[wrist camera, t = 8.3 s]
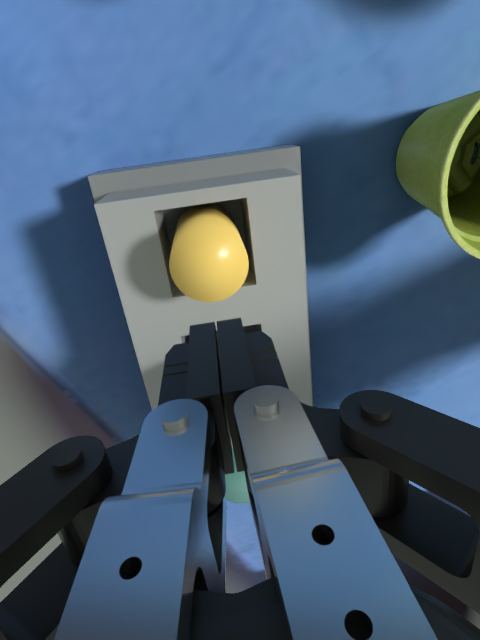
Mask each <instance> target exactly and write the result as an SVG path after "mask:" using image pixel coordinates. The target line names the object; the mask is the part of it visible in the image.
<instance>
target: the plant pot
mask: <svg viewBox="0 0 480 640" xmlns="http://www.w3.org/2000/svg"><path fill="white" fill-rule="evenodd" d="M475 142H477V143H478V144H479V146H478V153H477V157H476V160H475V161H474V163H473V164H470V161H471V158H472V155H473V154H474V149H475V148H474V147H475ZM396 173H397V177H398V180H399V182H400V184H401V185H402V187H403V189H404V190H405V191H406V193H407V194H408V195H409V196H410V197H412V198H413V199H415V200H416V201H417V202H419V203H420V204H422V205H423V206H425V207H426V208H427V209H429V210H430V211H431V212H433V213H434V214H436V215H437V216H438V217H440V218H441V219H442V221H443V223H444V226H445V228H446V230H447V232H448V234H449V235H450V237H451V238H452V239H453V241H454V242H455V243H456V244H457V245H458V246H459V247H460V248H462V249H463V250H464V251H465V252H467V253H468V254H470V255H472V256H474V257H476V258H478V259H480V91H477V92H474V93H471V94H468V95H465V96H462V97H459V98H456V99H453V100H450V101H447V102H444V103H441V104H438V105H435V106H433V107H431V108H429V109H428V110H426V111H425V112H424V113H423V114H421V115H420V116H419V117H418V118H417V119H416V120H415V121H414V122H413V123H412V124H411V126H410V127H409V128H408V129H407V130H406V132H405V133H404V135H403V137H402V139H401V142H400V144H399V147H398V151H397V155H396Z"/></svg>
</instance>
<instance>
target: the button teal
mask: <svg viewBox="0 0 480 640" xmlns="http://www.w3.org/2000/svg"><path fill="white" fill-rule="evenodd" d="M232 453H233V463H234V473H231V474H225V481H226V492H225V498H226V500H228V501H230V502H234V503H250V501H249V496H248V490H247V484H246V478H245V472H244V471H242V472H237V468H236V462H235V457H234V451H233V448H232Z"/></svg>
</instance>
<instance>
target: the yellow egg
mask: <svg viewBox="0 0 480 640" xmlns="http://www.w3.org/2000/svg"><path fill="white" fill-rule="evenodd" d="M169 268H170V273H171V277H172V279H173V281H174V283H175V284H176V286H177V287H178V288H179V290H180V291H181V292H183V293H184V294H185V295H187V296H188V297H190V298H192V299H194V300H197V301H201V302H217V301H221V300H224V299H226V298H228V297H230V296H232V295H233V294H234V293H236V292H237V291H238V290H239V289H240V287H241V286H242V285H243V283H244V281H245V279H246V277H247V274H248V268H249V260H248V255H247V252H246V249H245V247H244V244H243V242H242V239H241V237H240V234H239V232H238V229H237V227H236V224H235V222H234V220H233V218H232V216H231V215H230V214H229V213H228V212H227V211H226V210H225V209H224V208H222V207H221V206H219V205H216V204H212V203H206V204H199V205H193V206H191V207H189V208H188V209H187V210H186V211H184V212H183V214H182V215H181V216H180V218H179V220H178V222H177V226H176V230H175V235H174V240H173V245H172V250H171V254H170V261H169Z"/></svg>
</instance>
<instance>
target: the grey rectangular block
mask: <svg viewBox="0 0 480 640" xmlns="http://www.w3.org/2000/svg"><path fill="white" fill-rule="evenodd" d="M88 180H89V184H90V187H91V191H92V194H93V198H94V201H95V204H94V207H95V210H96V214H97V217H98V221H99V224H100V228H101V231H102V235H103V238H104V242H105V246H106V249H107V253H108V256H109V260H110V263H111V267H112V270H113V274H114V278H115V281H116V285H117V288H118V292H119V295H120V299H121V302H122V306H123V309H124V313H125V317H126V320H127V324H128V327H129V331H130V334H131V338H132V341H133V345H134V349H135V352H136V356H137V359H138V363H139V366H140V370H141V373H142V377H143V380H144V384H145V388H146V391H147V395H148V398H149V402H150V405H151V409H152V410H153V409H155V408H156V407H158V402H159V395H160V388H161V382H162V377H163V368H164V362H165V355H166V354H167V353H168V351H169V350H170V349H171V348H172V347H173V345H175V344H181V343H188V342H189V330H190V325H196V324H202V323H209V322H215V326H216V331H217V321H221V320H227V319H234V318H240V317H241V320H242V325H243V329H244V333H251V332H257V331H262V332H264V333H265V334H266V335H268V336H269V337H270V338H272V341H273V344H274V347H275V350H276V353H277V356H278V359H279V361H280V364H281V367H282V370H283V373H284V376H285V379H286V382H287V384H288V387H289V390H291V391H292V392H293V393H294V394H295V395H296V396H297V398H298V399H299V401H300V402H302V403H304V404H306V405H309V406H312V407H313V392H312V372H311V352H310V333H309V313H308V293H307V273H306V254H305V234H304V214H303V194H302V175H301V155H300V146H296V145H290V144H287V145H280V146H273V147H266V148H259V149H252V150H245V151H237V152H230V153H223V154H216V155H209V156H202V157H195V158H188V159H180V160H173V161H166V162H159V163H152V164H145V165H138V166H131V167H123V168H116V169H109V170H102V171H98V172H96V173H93V174H91V175H89V176H88ZM206 203H212V204H216V205H219V206H221V207H222V208H224V209H225V210H226V211H227V212H228V213H229V214H230V215H231V216H232V218H233V220H234V222H235V224H236V227H237V229H238V232H239V234H240V237H241V239H242V242H243V244H244V247H245V249H246V252H247V255H248V260H249V268H248V274H247V277H246V279H245V281H244V283H243V285H242V286H241V287H240V289H239V290H238V291H237V292H236V293H234V294H233V295H232V296H230V297H228V298H226V299H224V300H221V301H217V302H201V301H197V300H194V299H192V298H190V297H188V296H187V295H185V294H184V293H183V292H181V291H180V290H179V288H178V287H177V286H176V284H175V283H174V281H173V279H172V277H171V273H170V268H169V261H170V254H171V250H172V245H173V240H174V235H175V230H176V226H177V222H178V220H179V218H180V216H181V215H182V214H183V212H184V211H186V210H187V209H188V208H189V207H191V206H193V205H199V204H206Z"/></svg>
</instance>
